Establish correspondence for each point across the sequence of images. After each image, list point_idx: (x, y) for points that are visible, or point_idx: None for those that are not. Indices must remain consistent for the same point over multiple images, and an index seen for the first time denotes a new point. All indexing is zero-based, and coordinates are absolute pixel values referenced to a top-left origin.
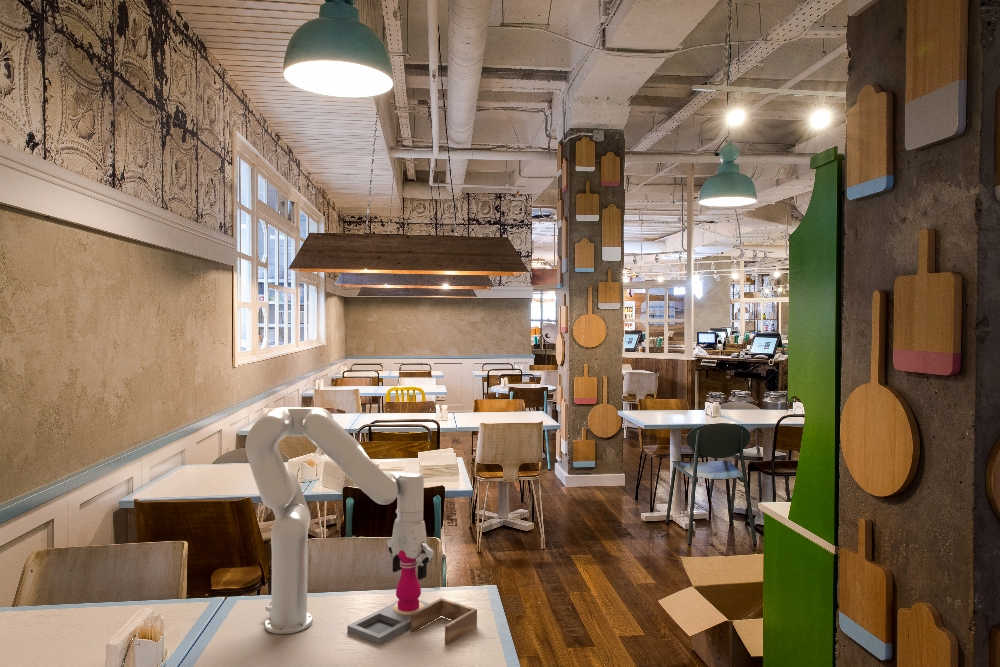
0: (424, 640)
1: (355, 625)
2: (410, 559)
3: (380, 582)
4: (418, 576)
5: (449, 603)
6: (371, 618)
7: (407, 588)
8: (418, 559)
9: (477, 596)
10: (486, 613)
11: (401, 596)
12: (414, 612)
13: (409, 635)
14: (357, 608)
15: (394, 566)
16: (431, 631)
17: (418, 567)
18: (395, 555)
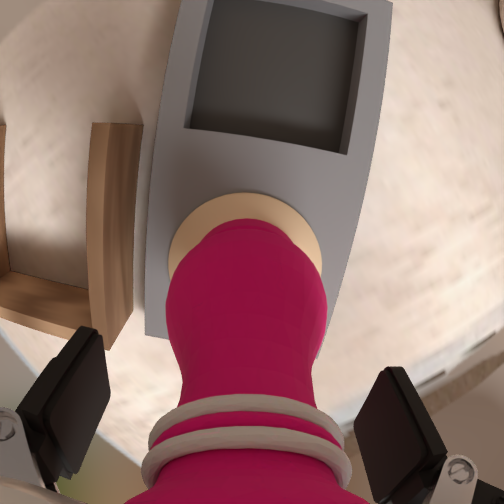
0: (64, 102)
1: (364, 9)
2: (134, 499)
3: (450, 399)
4: (76, 341)
5: (56, 321)
6: (354, 105)
7: (205, 274)
8: (13, 478)
9: (138, 440)
10: (45, 365)
11: (246, 232)
12: (101, 146)
13: (131, 99)
14: (463, 218)
15: (401, 402)
16: (79, 176)
17: (36, 400)
18: (430, 493)
